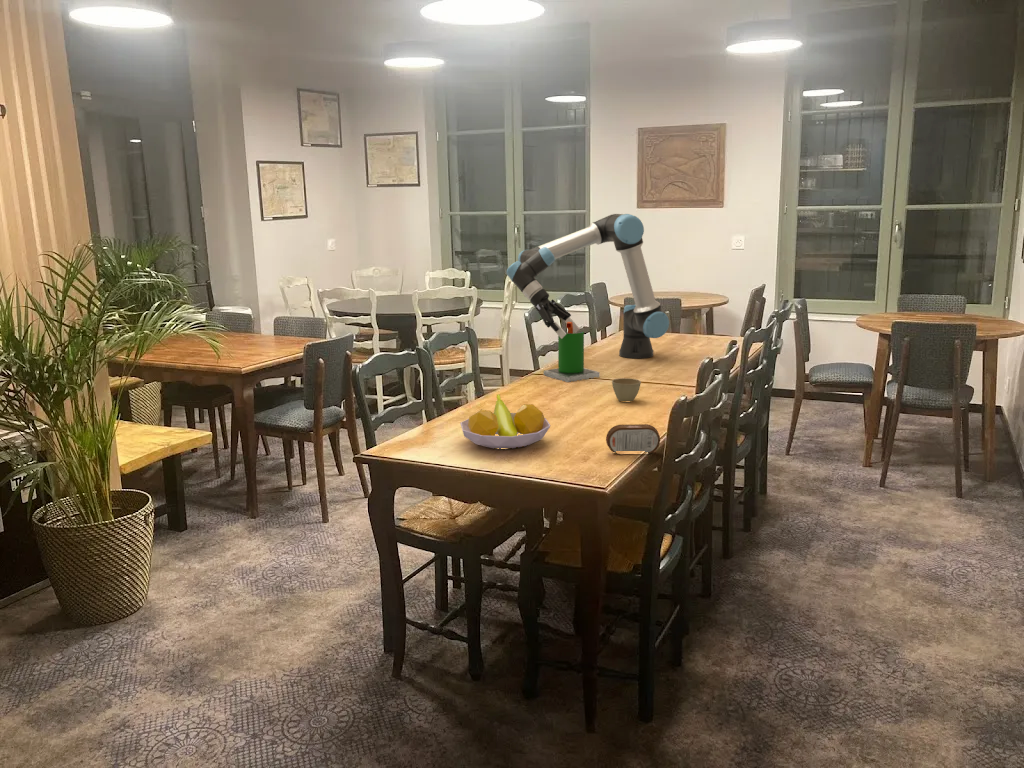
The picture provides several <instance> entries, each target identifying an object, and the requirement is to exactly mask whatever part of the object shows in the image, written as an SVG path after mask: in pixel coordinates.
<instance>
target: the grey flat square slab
mask: <svg viewBox="0 0 1024 768" xmlns="http://www.w3.org/2000/svg"><path fill="white" fill-rule="evenodd" d="M544 375H545V376H544ZM600 375H601V374H600V371H597V370H593V369H589V368H586V367H584V371H583V372H578V373H564V372H560V371H558V368H551V369H545V370H543V376H544V377H548V378H551V379H554V378H555V380H558V381H561V380H562V382H564V381H565V383H571V381H573V382H577V380H579V381H583V380H582V379H585V380H590V379H589V378H591V379H595V378H594V377H597V378H600V377H601V376H600Z"/></svg>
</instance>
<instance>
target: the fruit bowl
mask: <svg viewBox="0 0 1024 768" xmlns="http://www.w3.org/2000/svg"><path fill="white" fill-rule="evenodd" d="M460 426H461V430H462V434H463V436H464V438H466V439H467V440H469V441H470V442H472V443H474V444H475V445H479V446H483V447H487V448H490V449H494V448H499V449H501V448H512V449H516V447H518V448H522V446H524V447H528V446H530V445H532V444H535V443H537V442H539V441H541V440H543V438H544V437H545V435H546V434H547V432H548V431H549V429H550V427H551V424H550V423H549V421H548V420H547V418H545V415H544V413H543V412H542V411H541V410H540V409H539V408H538V407H537V406H535V404H533V403H532V404H531V403H530V404H529V403H528V404H527V403H526V404H523V405H521V407H520V408H519V409H517V411H516V412H511V411H510V410H509V408H508V407H507V405H506V404H505V402H504V401H503V400H502V399H501V394H499V393H498V394H496V401H495V405H494V410H493V412H492V411H491V410H487V409H480V410H478V411H477V412H475V413H474V414H472V415H470V416H469V417H468V418H467V419H465V420H462V421H461V422H460ZM518 433H520V434H523V435H518V436H517V434H518ZM495 434H498V435H499V436H495ZM527 445H528V446H527Z"/></svg>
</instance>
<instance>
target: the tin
mask: <svg viewBox="0 0 1024 768" xmlns="http://www.w3.org/2000/svg"><path fill="white" fill-rule="evenodd" d="M605 441H606V445H607V447H608V449H609V450H610V451H611V452H612V453H613V452H616V451H645V452H648V453H649V454H648V455H650V454H652V453H654V452H656V451H657V449H658V448H659V446H660V444H661V437H660V434H659V431H658V429H657V428H656V427H654V425H651V424H646V423H645V424H642V423H641V424H616V425H614V426H613V427H610V429H609V430H608V431H607V434H606V436H605Z"/></svg>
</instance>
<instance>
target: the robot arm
mask: <svg viewBox="0 0 1024 768" xmlns="http://www.w3.org/2000/svg"><path fill="white" fill-rule="evenodd" d="M644 233H645V228H644V224H643V222H642V220H641V219H640V218H639V217H637V216H636V215H633V214H630V213H624V214H623V213H621V214H620V213H612V214H610V215H607V216H605V217H602V218H600V219H597V220H596V221H593V222H591V223H590V224H589V226H587V227H584V228H582V229H580V230H577V231H574V232H572V233H569V234H567V235H563V236H561V237H559V238H556V239H553V240H551V241H548V242H546V243H543V244H541V245H538V246H536V247H533V248H530V249H524V250H522V251H520V252H519V253H518V257H517V261H515V262H513V263H511V265H509V266H508V267H507V269H506V276H508V278H509V279H510V281H511V282H512V283H513V284H514V285H515V286H516V287H517V288H518V289H519V291H520V292H521V293H522V294H523V295H524V298H527V300H529V302H530V303H531V305H533V306H534V308H535V309H536V311H537V312H538V313H539V316H540V318H541V319H542V321H543V323H544V325H545V326H546V327H547V328H551V329H552V330H553V331H554V333H556V335H557V337H558V336H559V337H560V338H561V339H562V338H563V337H564V336H565V335H566V331H565V330H564V329H563V328H562V327H561V326H560V324H559V323H558V322H557V321H555V320H554V317H553V315H552V314H554V315H556V317H559V318H561V319H562V320H563V321H564V323H565V324H566V325H567V322H572V323H573V334H574V333H578V332H579V330H581V329H580V327H579V326H578V325H577V324H576V322H575V321H574V320H573V318H571V317H572V314H571V313H570V312H569V311H568V310H566V309H565V308H564V307H562V306H561V305H560V304H559V303H557V302H556V301H555V299H552V300H549V298H550V294H549V292H547V291H546V290H545V289H544V288H543V286H542V284H540V282H538V280H537V279H536V278H537V276H539V275H540V274H541V273H542V272H544V271H545V270H546V269H547V268H549V267H550V266H551V265H552V264H553V263H554V262H555V261H556V260H557V259H559V258H561V257H564V256H567V255H568V254H572V253H574V252H576V251H579V250H581V249H585V248H587V247H590V246H592V245H594V244H596V245H602V244H604V243H612V242H613V244H614V248H615V251H616V252H618V253H620V255H621V258H622V261H623V262H622V263H623V266H624V269H625V272H626V277H627V280H628V283H629V287H630V291H631V294H632V297H633V300H634V304H628V305H625V306H624V307H623V337H622V342H621V346H620V349H619V356H620V357H621V358H627V359H648V358H652V357H654V349H653V345H652V342H651V339H658V338H661V337H662V336H664V335H665V334H666V333H667V331H668V330H669V327H670V320H669V319H670V318H669V317H668V315H667V314H666V313H665V312H664V311H663V309H662V305H661V302H659V301H657V300H656V297H655V294H654V290H653V287H652V283H651V279H650V276H649V272H648V268H647V265H646V262H645V258H644V254H643V250H642V246H643V244H644V240H643V236H644Z"/></svg>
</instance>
